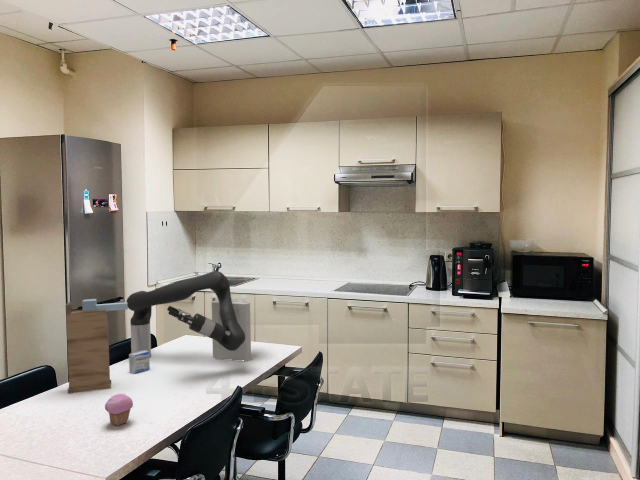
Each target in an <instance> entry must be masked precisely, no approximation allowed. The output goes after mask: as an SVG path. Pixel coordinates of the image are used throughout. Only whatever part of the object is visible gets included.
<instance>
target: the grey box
mask: <svg viewBox="0 0 640 480" xmlns="http://www.w3.org/2000/svg"><path fill="white" fill-rule="evenodd" d="M231 300H232V304H233V308H234V311H235V315H236V318H237V321H238V324H239V325H240V326H241V328H242V330H243V331H244V333H245V341H244V343H243V344H242V345H241V346H240V347H239V348H238V349H237V350H235V351H231V350H227V349H226V348H224V347H223V346H222V345H221V344H220V343H218V342H217V341H216V340H214V339H212V358H215V360H224V359H232V360H231V361H235V360H244V361H243V362H249V361H250V360H252V343H251V342H252V341H251V340H252V338H251V337H252V335H251V330H252V329H251V326H252V325H251V302H250V301H249V300H247V299H246V298H245V297H243V298H242V297H238V298H237V297H236V298H231ZM211 320H212V321H214V322H216V323H218V324H220V325H222V322H221V318H220V304H219V300H214V301H211ZM222 326H223V325H222ZM225 333H226V334H227V335H228V336H229V335H230V331H226V332H225ZM249 359H250V360H249ZM248 360H249V361H248Z"/></svg>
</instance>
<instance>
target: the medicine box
mask: <svg viewBox="0 0 640 480" xmlns="http://www.w3.org/2000/svg"><path fill="white" fill-rule="evenodd" d="M150 364H151V362H150V358H149V351H146V350H143V351H139V352H135V353H129V354H128V365H129V367H128V368H129V370H128V371H129V373H131V374H134V375H136V374H139V373H142V372H146V371H150V369H151V365H150Z"/></svg>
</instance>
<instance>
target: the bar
mask: <svg viewBox="0 0 640 480" xmlns="http://www.w3.org/2000/svg"><path fill="white" fill-rule="evenodd" d="M97 300H98V299H97V298H89V299H83V300H82V301H81V304H82V309H81V310H83V312H90V311H104V310H106V311H107V312H111V311H125V310H128V309H129V308H128V305H127V302H115V303H102V304H100V303H99V304H98V303H97Z"/></svg>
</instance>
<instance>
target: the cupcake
mask: <svg viewBox="0 0 640 480" xmlns="http://www.w3.org/2000/svg"><path fill="white" fill-rule="evenodd" d="M133 402H134V401H133V398H131V397H130V396H128V395H127V394H125V393H117V394H113V395H112V396H111V397H109V399H107V401H106V403H105V404H104V408H105V411H106V412H107V413H108V416H109V421H110V424H111V425H113V426H117V427H118V426H120V425H122V424H126V423H128V422H129V416H130V413H131V409H132V408H133V406H134V403H133Z"/></svg>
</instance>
